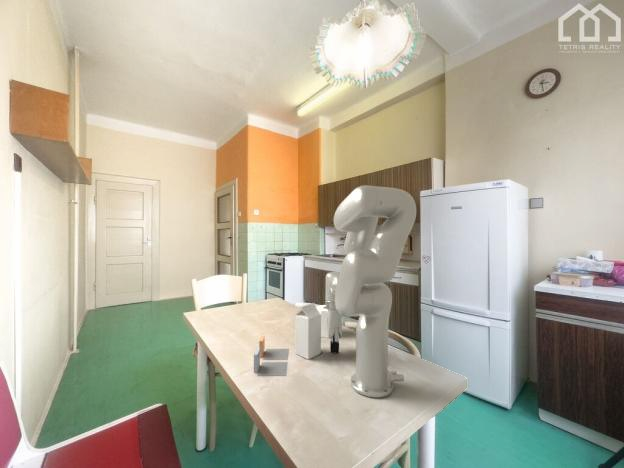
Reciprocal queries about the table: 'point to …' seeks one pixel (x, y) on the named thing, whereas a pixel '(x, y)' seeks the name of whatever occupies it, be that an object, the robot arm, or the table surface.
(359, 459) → the table surface
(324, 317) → the toilet paper
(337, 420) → the table surface
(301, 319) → the milk carton
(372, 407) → the table surface
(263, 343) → the tag station
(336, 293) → the robot arm
